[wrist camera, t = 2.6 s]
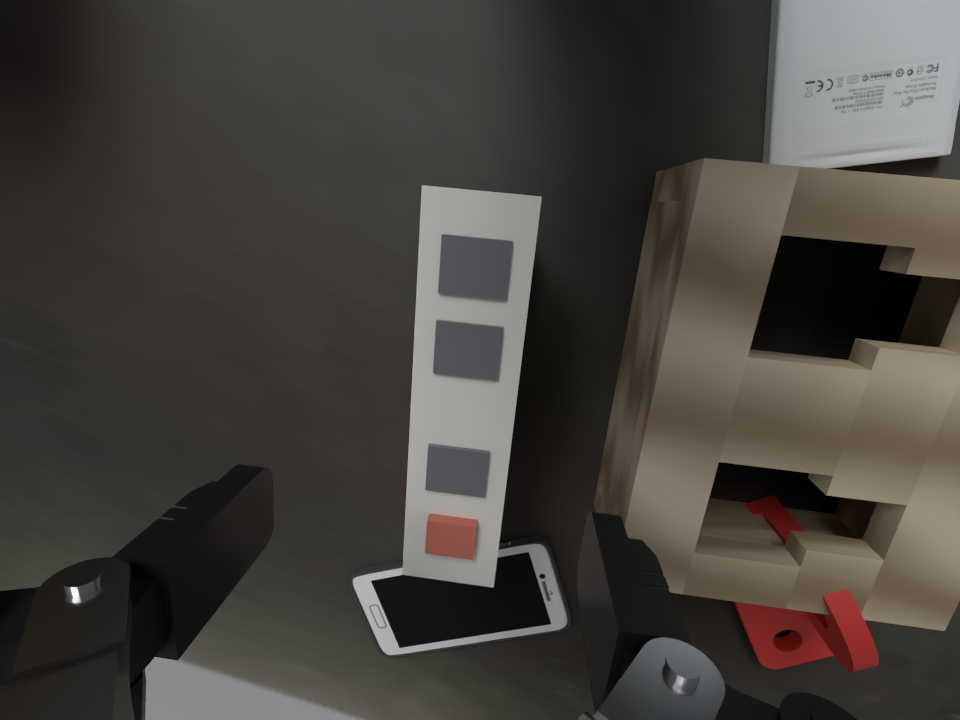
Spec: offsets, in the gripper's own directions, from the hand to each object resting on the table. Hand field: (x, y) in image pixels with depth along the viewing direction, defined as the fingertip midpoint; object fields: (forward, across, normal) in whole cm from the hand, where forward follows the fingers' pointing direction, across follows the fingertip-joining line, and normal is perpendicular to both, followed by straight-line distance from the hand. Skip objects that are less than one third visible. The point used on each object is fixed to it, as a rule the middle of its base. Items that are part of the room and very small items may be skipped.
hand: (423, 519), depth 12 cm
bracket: (+17, -20, +14) cm, 30 cm away
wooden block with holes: (+17, -16, 0) cm, 24 cm away
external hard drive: (+18, -16, -17) cm, 30 cm away
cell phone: (+18, 0, +19) cm, 26 cm away
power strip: (+15, 0, 0) cm, 15 cm away
